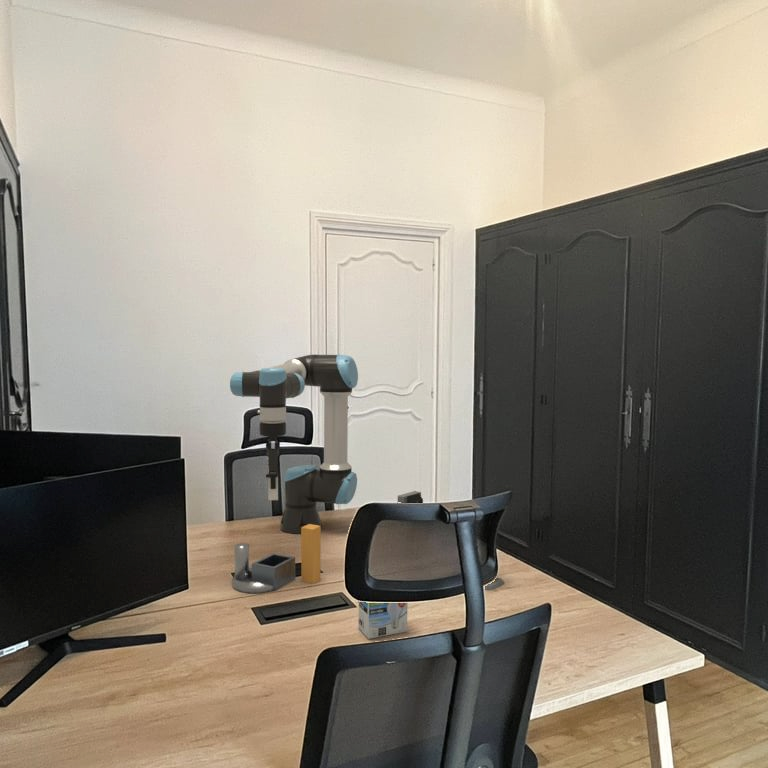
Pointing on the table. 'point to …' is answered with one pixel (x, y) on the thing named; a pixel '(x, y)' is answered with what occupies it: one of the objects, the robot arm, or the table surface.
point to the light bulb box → (382, 618)
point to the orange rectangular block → (310, 553)
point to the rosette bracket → (261, 571)
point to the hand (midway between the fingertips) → (272, 494)
